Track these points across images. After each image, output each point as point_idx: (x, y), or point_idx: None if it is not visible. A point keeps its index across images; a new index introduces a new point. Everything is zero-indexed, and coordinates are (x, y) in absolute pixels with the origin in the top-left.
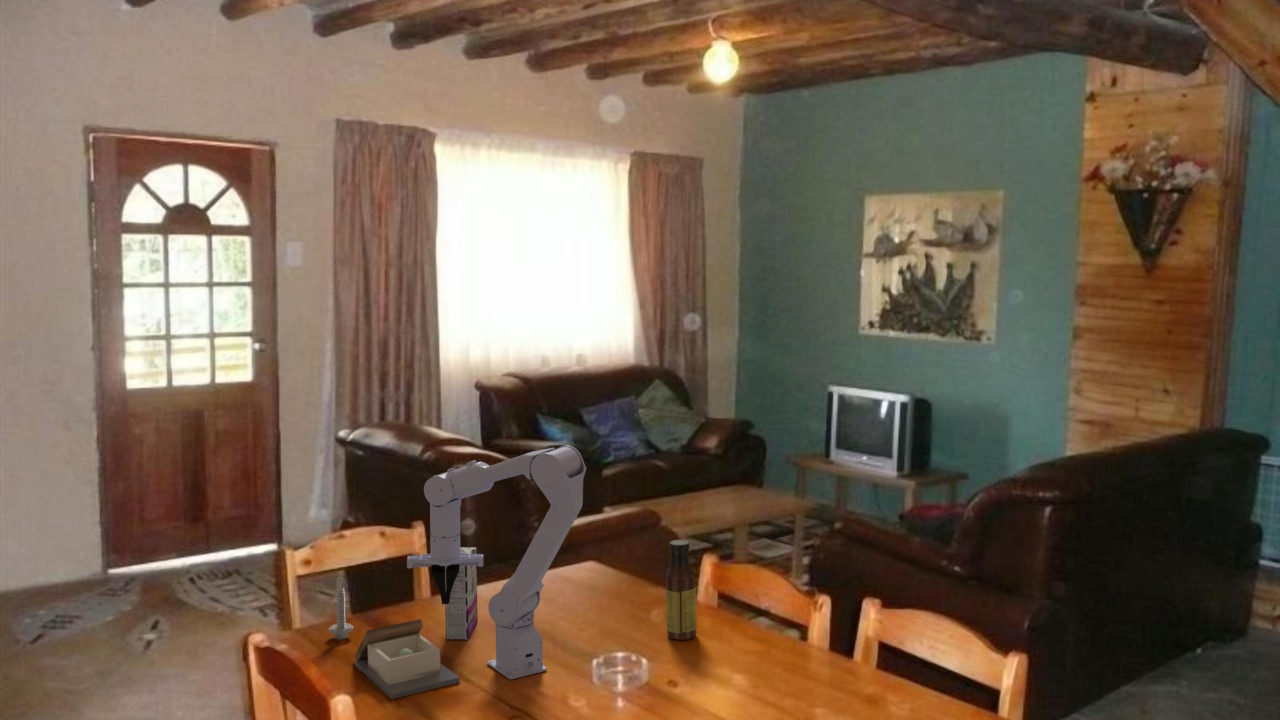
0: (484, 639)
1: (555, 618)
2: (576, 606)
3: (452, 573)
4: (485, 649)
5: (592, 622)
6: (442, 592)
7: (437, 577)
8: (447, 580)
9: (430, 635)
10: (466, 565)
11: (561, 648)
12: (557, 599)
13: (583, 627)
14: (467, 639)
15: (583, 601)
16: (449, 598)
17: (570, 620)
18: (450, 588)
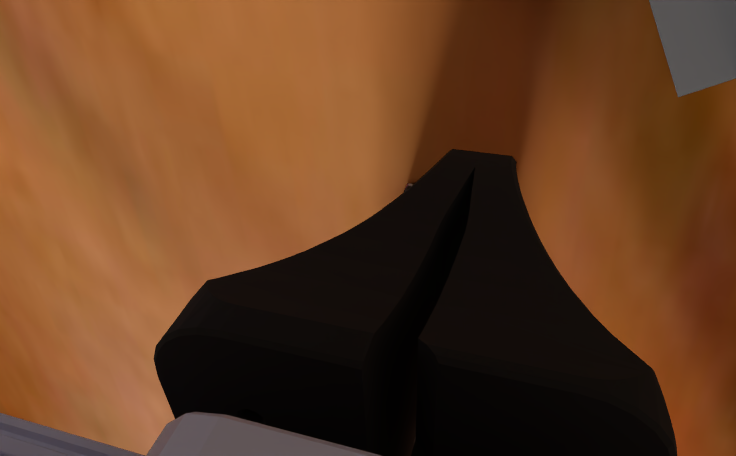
0: (339, 177)
1: (130, 292)
2: (101, 351)
3: (257, 305)
4: (322, 59)
5: (12, 233)
6: (494, 205)
7: (547, 326)
8: (392, 271)
9: (578, 273)
10: (78, 442)
11: (10, 13)
12: (166, 405)
13: (20, 202)
14: (410, 183)
15: (95, 373)
16: (431, 168)
17: (81, 265)
18: (389, 214)
